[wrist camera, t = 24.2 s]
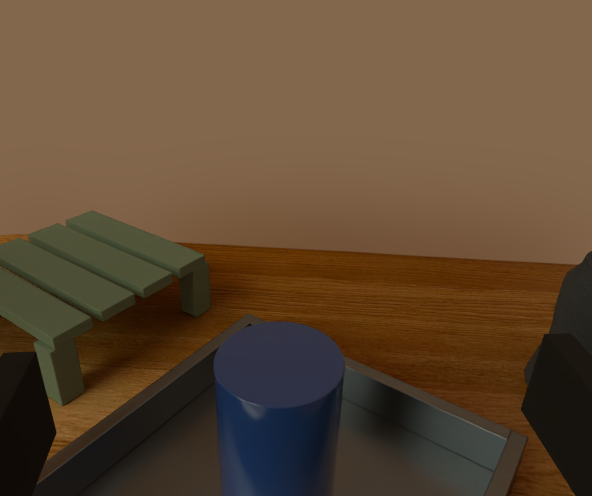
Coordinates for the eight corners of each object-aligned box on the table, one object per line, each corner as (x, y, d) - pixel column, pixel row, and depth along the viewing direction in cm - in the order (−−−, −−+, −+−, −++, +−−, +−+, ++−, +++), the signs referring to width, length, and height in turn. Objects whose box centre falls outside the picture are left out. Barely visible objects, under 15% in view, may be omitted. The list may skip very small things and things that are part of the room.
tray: (-7, 560, 29) (-26, 512, 27) (248, 351, 45) (247, 312, 43) (345, 932, 18) (355, 896, 16) (514, 481, 34) (528, 436, 32)
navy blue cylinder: (208, 483, 32) (197, 338, 27) (302, 448, 35) (308, 310, 30) (245, 581, 27) (240, 425, 22) (352, 532, 30) (370, 382, 24)
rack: (-48, 328, 47) (-68, 269, 44) (103, 258, 58) (95, 209, 56) (62, 406, 39) (46, 341, 36) (211, 307, 50) (208, 252, 48)
